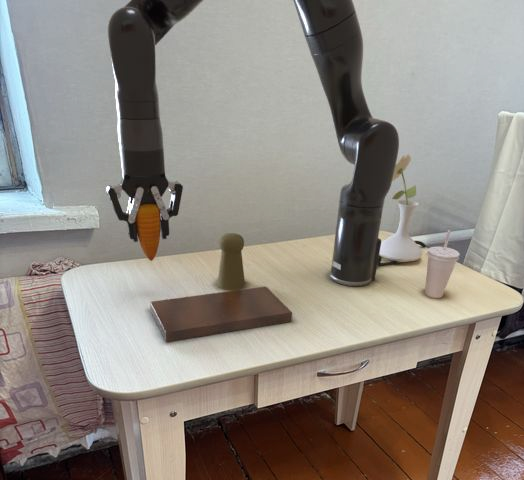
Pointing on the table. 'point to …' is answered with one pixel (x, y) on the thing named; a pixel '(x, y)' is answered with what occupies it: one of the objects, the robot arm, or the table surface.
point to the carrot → (148, 228)
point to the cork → (231, 262)
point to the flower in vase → (402, 223)
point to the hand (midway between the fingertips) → (149, 238)
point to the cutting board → (218, 313)
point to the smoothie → (439, 268)
